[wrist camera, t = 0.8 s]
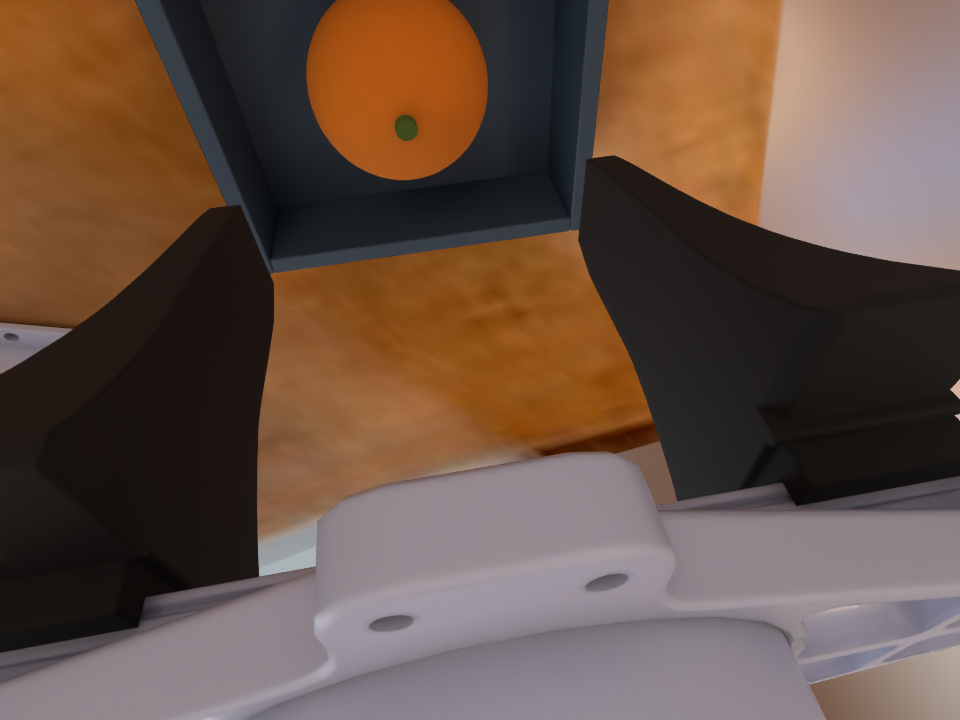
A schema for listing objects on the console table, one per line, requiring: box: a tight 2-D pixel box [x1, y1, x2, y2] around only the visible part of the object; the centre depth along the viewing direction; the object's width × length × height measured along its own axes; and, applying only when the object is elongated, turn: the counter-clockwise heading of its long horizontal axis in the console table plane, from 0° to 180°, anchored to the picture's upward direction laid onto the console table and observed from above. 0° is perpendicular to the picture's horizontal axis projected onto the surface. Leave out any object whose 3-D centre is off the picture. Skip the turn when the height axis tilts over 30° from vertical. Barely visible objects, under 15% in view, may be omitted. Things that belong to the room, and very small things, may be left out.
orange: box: [306, 0, 488, 180], centre depth 17 cm, size 5×5×6 cm
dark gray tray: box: [135, 0, 609, 274], centre depth 17 cm, size 12×11×4 cm
